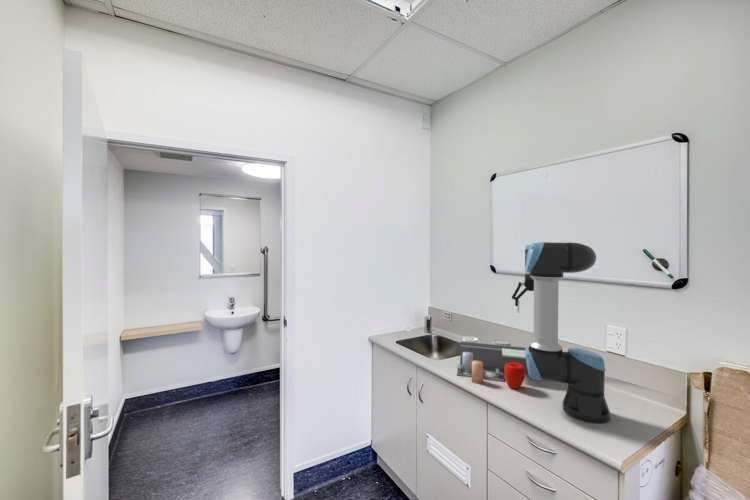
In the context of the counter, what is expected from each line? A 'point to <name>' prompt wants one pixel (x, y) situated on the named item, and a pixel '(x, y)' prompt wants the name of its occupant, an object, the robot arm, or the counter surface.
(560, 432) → the counter surface
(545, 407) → the counter surface
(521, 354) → the lid
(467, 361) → the housing
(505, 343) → the disposable coffee cup
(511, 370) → the apple
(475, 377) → the peg
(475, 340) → the cup
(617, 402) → the counter surface
